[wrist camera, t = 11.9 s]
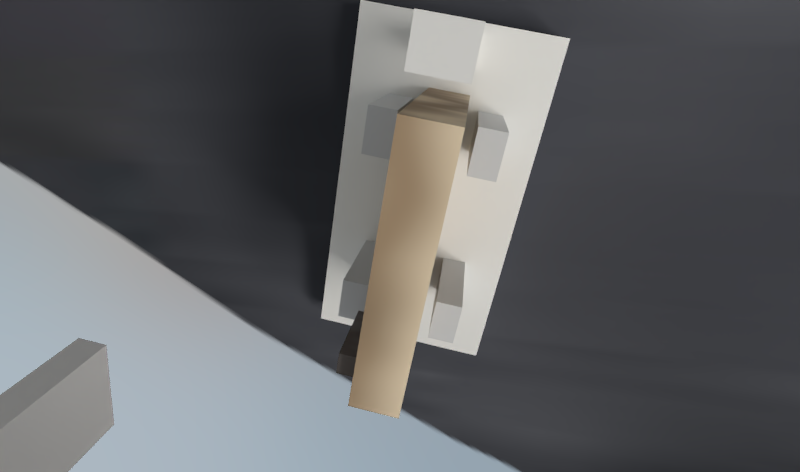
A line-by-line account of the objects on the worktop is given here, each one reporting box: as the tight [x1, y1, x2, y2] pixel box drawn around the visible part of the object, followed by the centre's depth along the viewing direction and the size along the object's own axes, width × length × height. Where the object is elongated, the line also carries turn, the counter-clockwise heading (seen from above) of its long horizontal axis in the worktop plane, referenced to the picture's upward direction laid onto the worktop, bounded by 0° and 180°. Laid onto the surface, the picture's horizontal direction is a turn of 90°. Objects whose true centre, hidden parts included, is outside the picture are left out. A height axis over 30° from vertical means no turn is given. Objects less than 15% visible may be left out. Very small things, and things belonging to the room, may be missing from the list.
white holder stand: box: [321, 0, 570, 355], centre depth 26 cm, size 12×22×14 cm, turn 170°
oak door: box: [336, 87, 470, 418], centre depth 25 cm, size 4×14×12 cm, turn 170°
